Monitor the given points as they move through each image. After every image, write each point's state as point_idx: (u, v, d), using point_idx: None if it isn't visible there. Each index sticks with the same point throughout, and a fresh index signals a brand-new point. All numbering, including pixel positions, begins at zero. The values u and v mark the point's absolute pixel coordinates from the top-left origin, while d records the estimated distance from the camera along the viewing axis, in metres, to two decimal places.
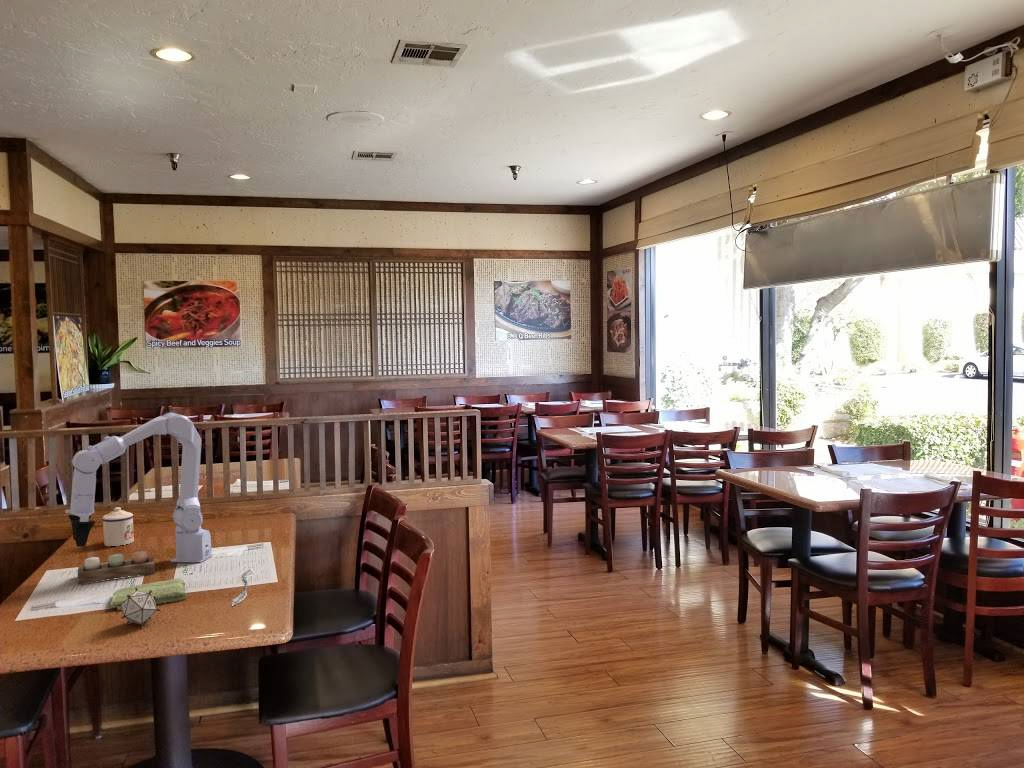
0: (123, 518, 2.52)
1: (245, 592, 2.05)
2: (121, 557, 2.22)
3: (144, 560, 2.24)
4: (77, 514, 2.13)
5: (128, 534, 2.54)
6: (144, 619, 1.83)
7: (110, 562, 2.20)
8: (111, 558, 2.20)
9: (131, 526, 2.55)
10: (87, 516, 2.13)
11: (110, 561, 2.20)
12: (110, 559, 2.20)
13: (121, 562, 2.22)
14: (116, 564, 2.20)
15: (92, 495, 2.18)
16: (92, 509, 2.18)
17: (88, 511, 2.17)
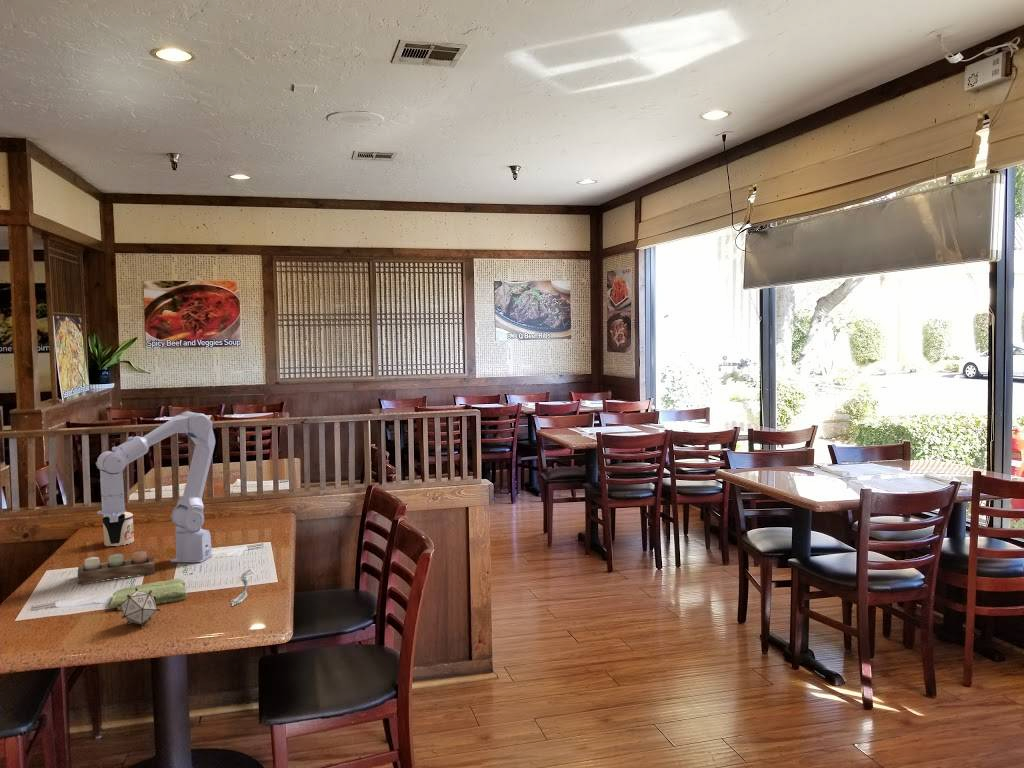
0: None
1: (245, 592, 2.05)
2: (121, 557, 2.22)
3: (144, 560, 2.24)
4: (107, 515, 2.16)
5: (128, 534, 2.54)
6: (144, 619, 1.83)
7: (110, 562, 2.20)
8: (111, 558, 2.20)
9: (131, 526, 2.55)
10: (116, 516, 2.15)
11: (110, 561, 2.20)
12: (110, 559, 2.20)
13: (121, 562, 2.22)
14: (116, 564, 2.20)
15: (120, 495, 2.20)
16: (123, 508, 2.21)
17: (118, 511, 2.19)
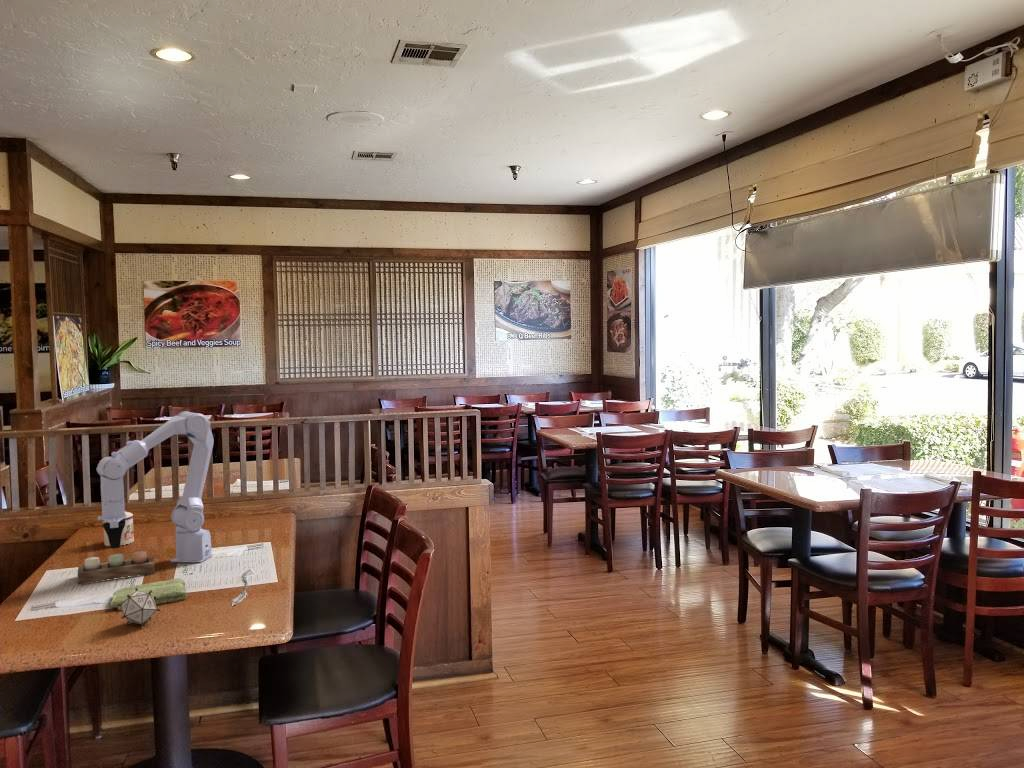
0: None
1: (245, 592, 2.05)
2: (121, 557, 2.22)
3: (144, 560, 2.24)
4: (107, 520, 2.16)
5: (128, 534, 2.54)
6: (144, 619, 1.83)
7: (110, 562, 2.20)
8: (111, 558, 2.20)
9: (131, 526, 2.55)
10: (116, 522, 2.15)
11: (110, 561, 2.20)
12: (110, 559, 2.20)
13: (121, 562, 2.22)
14: (116, 564, 2.20)
15: (121, 500, 2.20)
16: (123, 514, 2.21)
17: (119, 516, 2.19)
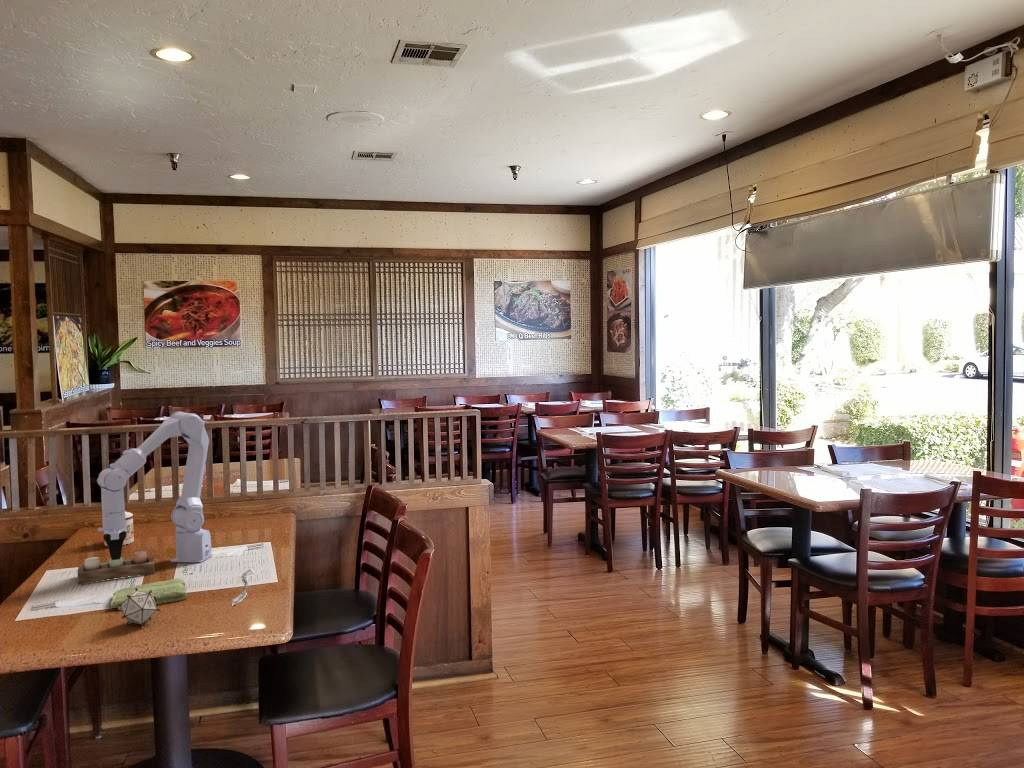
0: None
1: (245, 592, 2.05)
2: (121, 560, 2.22)
3: (144, 560, 2.24)
4: (108, 532, 2.16)
5: (128, 534, 2.54)
6: (144, 619, 1.83)
7: (110, 565, 2.21)
8: (111, 561, 2.20)
9: (131, 526, 2.55)
10: (117, 534, 2.15)
11: (110, 564, 2.20)
12: (110, 562, 2.20)
13: (121, 565, 2.22)
14: None
15: (121, 512, 2.20)
16: (123, 525, 2.21)
17: (119, 528, 2.20)
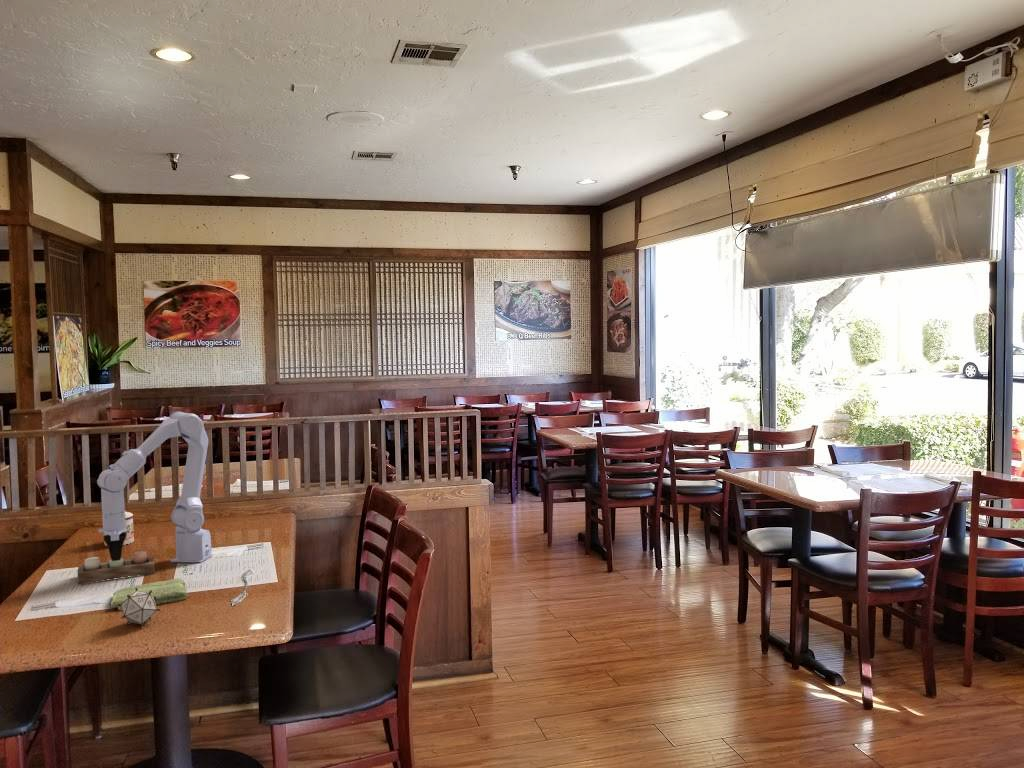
0: None
1: (245, 592, 2.05)
2: (121, 561, 2.22)
3: (144, 560, 2.24)
4: (108, 533, 2.16)
5: (128, 534, 2.54)
6: (144, 619, 1.83)
7: (110, 566, 2.21)
8: (111, 562, 2.20)
9: (131, 526, 2.55)
10: (117, 535, 2.15)
11: (110, 565, 2.21)
12: (110, 563, 2.20)
13: None
14: None
15: (121, 513, 2.20)
16: (123, 526, 2.21)
17: (119, 529, 2.20)
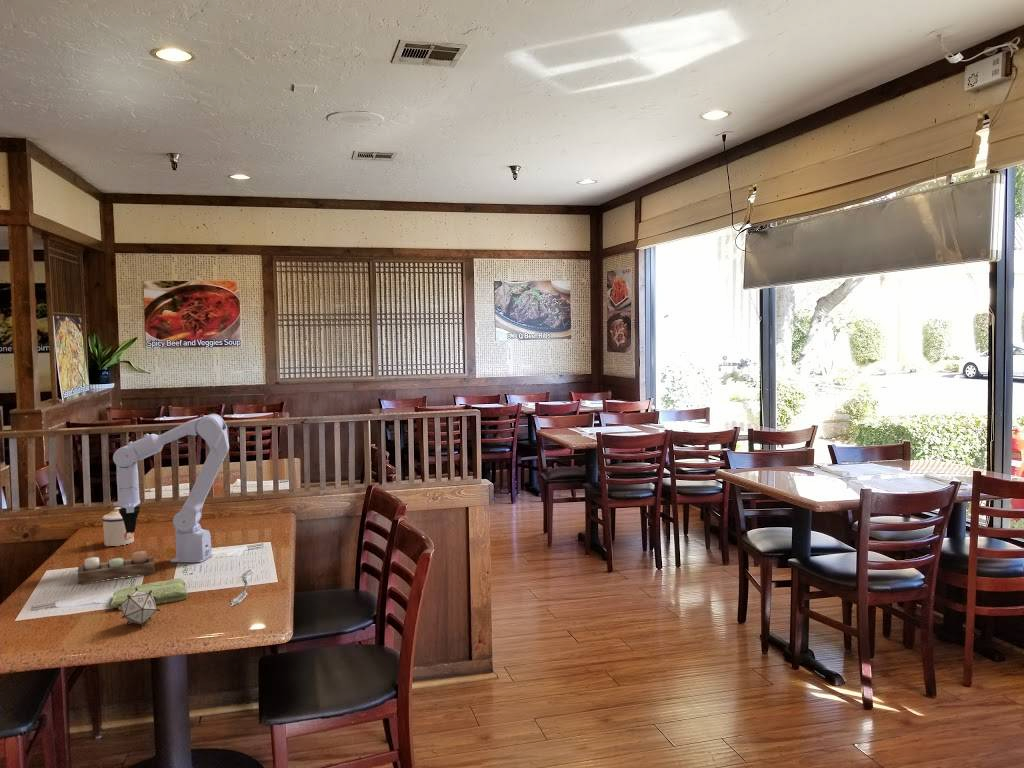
0: None
1: (245, 592, 2.05)
2: (121, 561, 2.22)
3: (144, 560, 2.24)
4: (123, 506, 2.28)
5: (128, 534, 2.54)
6: (144, 619, 1.83)
7: (110, 566, 2.21)
8: (111, 562, 2.20)
9: None
10: (132, 507, 2.27)
11: (110, 565, 2.21)
12: (110, 563, 2.20)
13: None
14: None
15: (136, 487, 2.32)
16: (138, 500, 2.32)
17: (134, 502, 2.31)
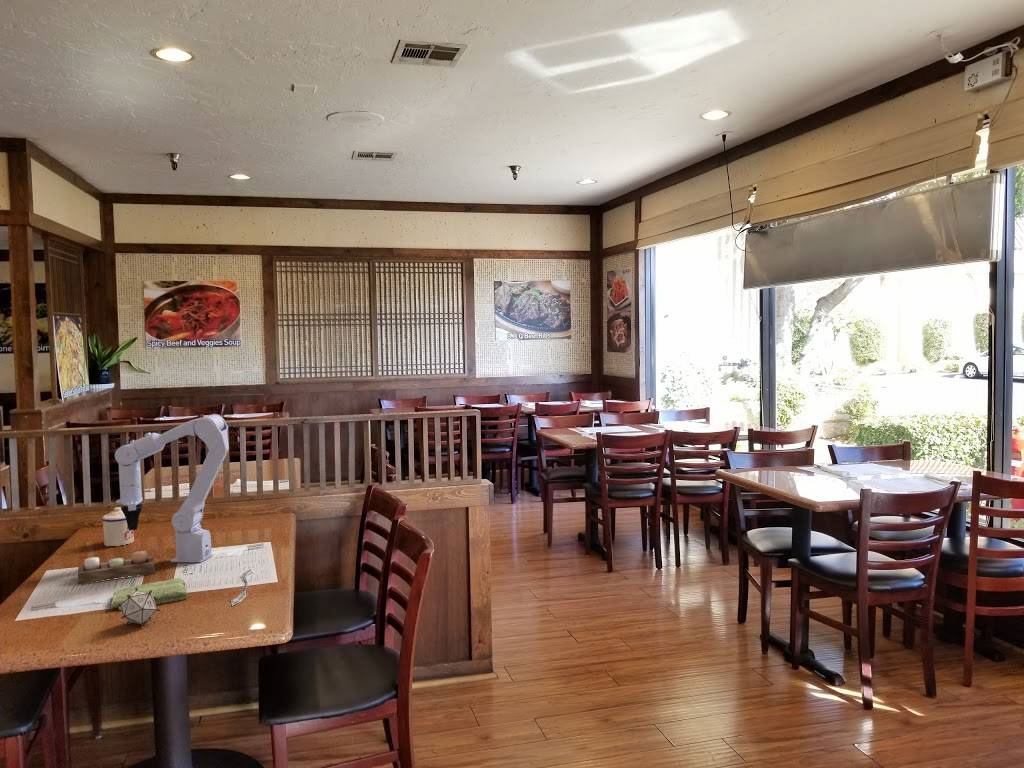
0: (123, 518, 2.52)
1: (245, 592, 2.05)
2: (121, 561, 2.22)
3: (144, 560, 2.24)
4: (126, 504, 2.30)
5: (128, 534, 2.54)
6: (144, 619, 1.83)
7: (110, 566, 2.21)
8: (111, 562, 2.20)
9: None
10: (134, 505, 2.28)
11: (110, 565, 2.21)
12: (110, 563, 2.20)
13: None
14: None
15: (138, 485, 2.33)
16: (140, 498, 2.34)
17: (136, 500, 2.33)
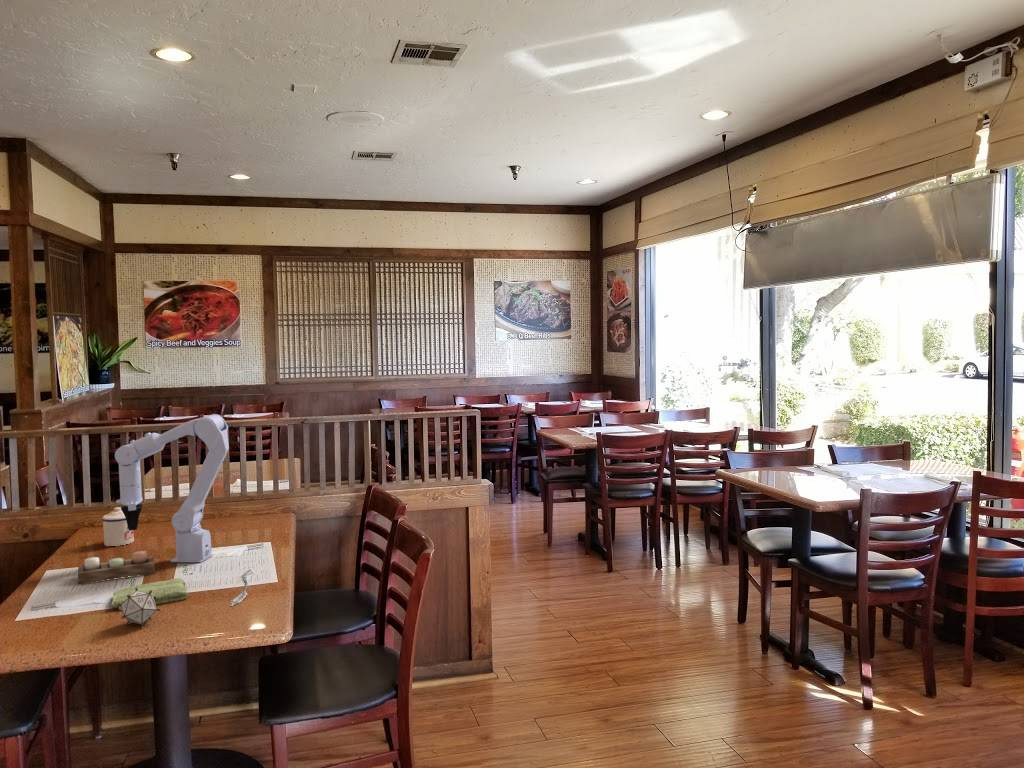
0: (123, 518, 2.52)
1: (245, 592, 2.05)
2: (121, 561, 2.22)
3: (144, 560, 2.24)
4: (126, 504, 2.30)
5: (128, 534, 2.54)
6: (144, 619, 1.83)
7: (110, 566, 2.21)
8: (111, 562, 2.20)
9: None
10: (134, 505, 2.28)
11: (110, 565, 2.21)
12: (110, 563, 2.20)
13: None
14: None
15: (138, 485, 2.33)
16: (140, 498, 2.34)
17: (136, 500, 2.33)
